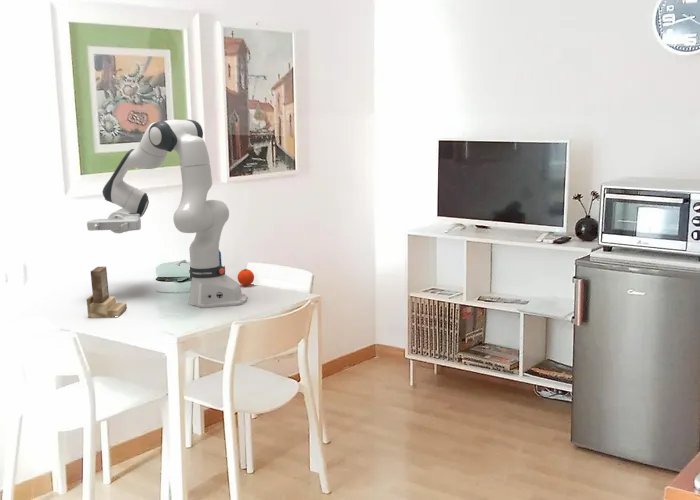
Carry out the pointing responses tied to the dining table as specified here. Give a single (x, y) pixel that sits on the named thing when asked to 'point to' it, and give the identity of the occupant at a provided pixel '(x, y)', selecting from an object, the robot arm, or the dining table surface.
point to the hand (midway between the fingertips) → (108, 227)
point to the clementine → (245, 277)
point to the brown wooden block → (99, 284)
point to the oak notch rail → (105, 308)
